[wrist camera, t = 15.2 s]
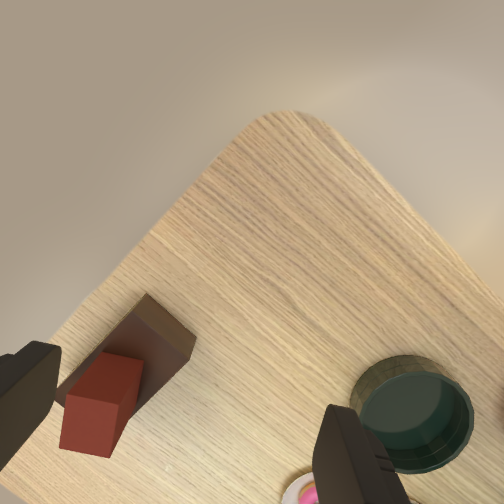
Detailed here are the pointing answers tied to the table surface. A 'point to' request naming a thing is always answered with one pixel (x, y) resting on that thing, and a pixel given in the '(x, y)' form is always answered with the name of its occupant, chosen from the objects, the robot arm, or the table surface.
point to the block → (141, 349)
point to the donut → (301, 491)
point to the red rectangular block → (101, 405)
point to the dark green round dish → (414, 412)
